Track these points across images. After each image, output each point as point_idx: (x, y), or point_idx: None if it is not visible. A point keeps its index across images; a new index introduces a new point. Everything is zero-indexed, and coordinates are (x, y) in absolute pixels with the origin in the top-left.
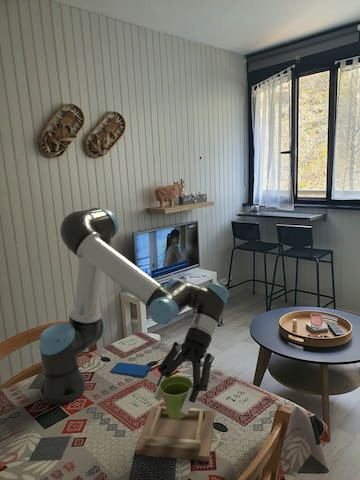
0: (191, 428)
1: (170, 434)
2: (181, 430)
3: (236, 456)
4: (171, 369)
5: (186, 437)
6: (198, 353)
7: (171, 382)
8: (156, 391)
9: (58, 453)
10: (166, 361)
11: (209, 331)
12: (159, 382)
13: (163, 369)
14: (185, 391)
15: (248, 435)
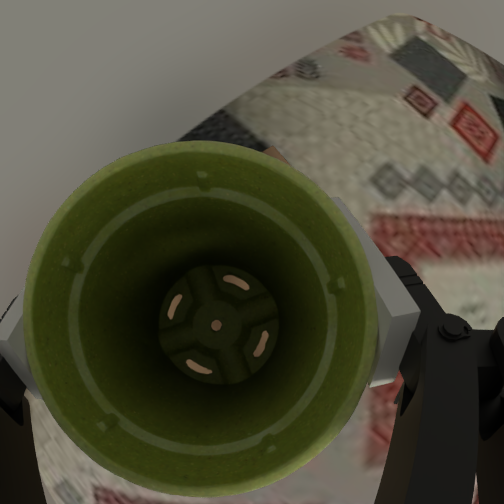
0: (189, 363)
1: (231, 279)
2: (213, 327)
3: None
4: (403, 448)
5: (170, 311)
6: None
7: (327, 378)
8: (349, 218)
9: (407, 62)
10: None
11: None
12: (401, 277)
13: (489, 387)
14: (204, 420)
15: (60, 454)
